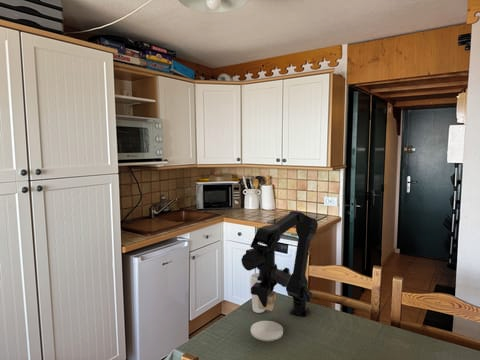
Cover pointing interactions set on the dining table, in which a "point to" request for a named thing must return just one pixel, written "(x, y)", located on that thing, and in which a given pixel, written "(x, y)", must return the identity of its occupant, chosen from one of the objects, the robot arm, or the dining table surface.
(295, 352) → the dining table surface
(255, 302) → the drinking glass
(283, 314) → the dining table surface
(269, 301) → the oak block
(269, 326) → the plate
